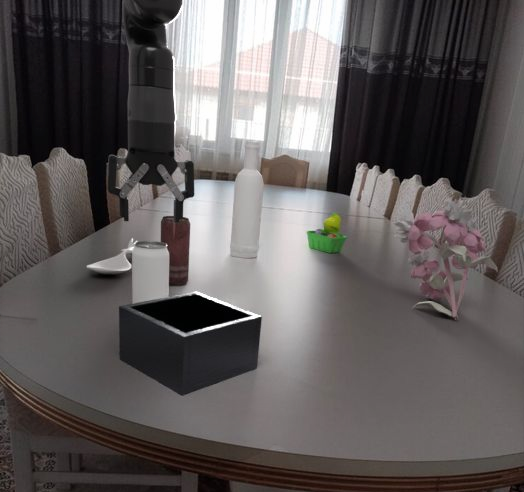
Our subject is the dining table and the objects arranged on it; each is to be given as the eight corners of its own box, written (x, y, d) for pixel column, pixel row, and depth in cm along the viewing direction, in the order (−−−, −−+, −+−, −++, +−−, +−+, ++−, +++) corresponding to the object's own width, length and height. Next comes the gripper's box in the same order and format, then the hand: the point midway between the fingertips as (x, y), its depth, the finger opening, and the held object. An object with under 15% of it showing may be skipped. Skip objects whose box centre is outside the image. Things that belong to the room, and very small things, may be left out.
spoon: (163, 253, 139) (164, 240, 138) (120, 282, 110) (120, 266, 108) (131, 249, 140) (131, 236, 139) (79, 277, 110) (78, 261, 109)
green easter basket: (303, 247, 165) (307, 210, 161) (321, 245, 171) (326, 210, 166) (330, 254, 157) (335, 216, 153) (348, 252, 163) (354, 216, 159)
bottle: (247, 259, 141) (257, 141, 130) (224, 254, 144) (231, 138, 133) (263, 255, 147) (273, 142, 136) (240, 250, 151) (248, 140, 140)
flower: (523, 311, 111) (505, 197, 111) (481, 319, 95) (460, 185, 95) (436, 325, 126) (420, 223, 126) (387, 333, 110) (368, 217, 110)
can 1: (168, 304, 99) (169, 241, 95) (168, 315, 93) (169, 249, 89) (133, 302, 98) (133, 239, 93) (131, 314, 92) (130, 246, 88)
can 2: (160, 286, 110) (161, 219, 105) (159, 278, 116) (160, 214, 110) (189, 287, 111) (191, 221, 106) (186, 279, 117) (189, 216, 112)
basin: (181, 395, 66) (184, 337, 63) (119, 359, 74) (118, 306, 71) (257, 368, 76) (262, 316, 73) (194, 338, 84) (196, 291, 81)
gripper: (191, 123, 89) (188, 219, 95) (104, 115, 85) (107, 216, 91) (199, 123, 82) (196, 226, 89) (106, 114, 78) (109, 224, 84)
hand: (151, 221), depth 90 cm, fingers open, 8 cm apart
